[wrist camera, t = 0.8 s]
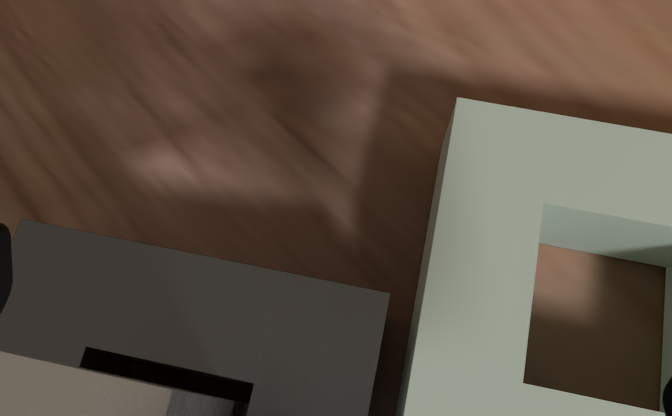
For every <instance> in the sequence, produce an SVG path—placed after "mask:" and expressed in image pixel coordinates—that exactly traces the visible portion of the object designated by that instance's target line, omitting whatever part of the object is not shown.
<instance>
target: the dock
mask: <svg viewBox="0 0 672 416" xmlns="http://www.w3.org/2000/svg"><path fill="white" fill-rule="evenodd" d="M539 243H541V244H546V245H551V246H556V247H561V248H567V249H572V250H577V251H582V252H588V253H593V254H598V255H603V256H609V257H614V258H619V259H624V260H630V261H635V262H640V263H645V264H651V265H656V266H661V267H666V279H665V301H664V323H663V344H662V366H661V387H660V409H659V412H658V411H653V410H648V409H643V408H639V407H634V406H629V405H625V404H620V403H615V402H610V401H606V400H601V399H596V398H591V397H587V396H582V395H577V394H572V393H568V392H563V391H558V390H553V389H549V388H544V387H539V386H535V385H530V384H525V383H523V378H524V370H525V361H526V352H527V343H528V334H529V325H530V316H531V308H532V299H533V290H534V281H535V272H536V263H537V254H538V246H539ZM671 376H672V134H669V133H663V132H657V131H651V130H645V129H640V128H634V127H628V126H622V125H616V124H611V123H605V122H599V121H593V120H587V119H581V118H576V117H570V116H564V115H558V114H552V113H547V112H541V111H535V110H529V109H523V108H517V107H512V106H506V105H500V104H494V103H488V102H483V101H477V100H471V99H465V98H459V97H457V99H456V103H455V106H454V109H453V112H452V115H451V118H450V121H449V125H448V128H447V131H446V134H445V137H444V140H443V143H442V147H441V152H440V158H439V164H438V170H437V176H436V181H435V187H434V193H433V199H432V205H431V211H430V216H429V222H428V228H427V234H426V240H425V245H424V251H423V257H422V263H421V269H420V274H419V280H418V286H417V292H416V298H415V303H414V309H413V315H412V321H411V327H410V333H409V338H408V344H407V350H406V356H405V362H404V367H403V373H402V379H401V385H400V391H399V396H398V402H397V408H396V414H395V416H665V412H664V408H663V403H662V396H663V391H664V388H665V386H666V384H667V382H668V381H669V379H670V378H671Z"/></svg>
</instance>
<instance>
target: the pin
mask: <svg viewBox="0 0 672 416" xmlns="http://www.w3.org/2000/svg"><path fill="white" fill-rule="evenodd" d="M248 407H249V404H248V403H243V402H239V401H234V400H230V399H225V398H221V397H216V396H212V395H207V394H203V393H198V392H194V391H189V390H185V389H181V388H176V387H172V386H167V385H163V384H158V383H154V382H149V381H145V380H140V379H135V378H130V377H125V376H120V375H115V374H111V373H106V372H101V371H96V370H91V369H86V368H81V367H76V366H71V365H66V364H61V363H56V362H52V361H47V360H42V359H37V358H32V357H27V356H22V355H17V354H12V353H7V352H2V351H0V416H246V415H247V411H248Z"/></svg>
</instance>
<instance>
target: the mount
mask: <svg viewBox="0 0 672 416" xmlns="http://www.w3.org/2000/svg"><path fill="white" fill-rule="evenodd" d="M11 249H12V267H13V284H12V289H11V293H10V296H9V298H8V300H7V302H6V304H5V306H4V308H3V310H2V313H1V315H0V351H2V352H7V353H12V354H17V355H22V356H27V357H32V358H37V359H42V360H47V361H52V362H56V363H61V364H66V365H71V366H76V367H81V368H86V369H91V370H96V371H101V372H106V373H111V374H115V375H120V376H126V373H127V369H128V366H129V363H130V359H131V360H136V361H141V362H145V363H150V364H154V365H159V366H163V367H168V368H172V369H177V370H181V371H186V372H191V373H195V374H200V375H204V376H209V377H213V378H218V379H222V380H227V381H231V382H236V383H241V384H245V385H250V386H253V391H252V395H251V399H250V403H249V407H248V411H247V415H246V416H368V412H369V406H370V401H371V395H372V390H373V385H374V379H375V374H376V368H377V363H378V358H379V352H380V347H381V341H382V336H383V331H384V325H385V320H386V314H387V309H388V304H389V298H390V293H386V292H381V291H376V290H371V289H366V288H361V287H356V286H352V285H347V284H342V283H337V282H332V281H327V280H322V279H317V278H312V277H307V276H302V275H297V274H292V273H287V272H282V271H277V270H272V269H267V268H263V267H258V266H253V265H248V264H243V263H238V262H233V261H228V260H223V259H218V258H213V257H208V256H203V255H198V254H193V253H188V252H183V251H178V250H173V249H169V248H164V247H159V246H154V245H149V244H144V243H139V242H134V241H129V240H124V239H119V238H114V237H109V236H104V235H99V234H94V233H89V232H84V231H80V230H75V229H70V228H65V227H60V226H55V225H50V224H45V223H40V222H35V221H30V220H25V219H20V222H19V224H18V227H17V230H16V232H15V235H14V237H13V240H12V243H11Z"/></svg>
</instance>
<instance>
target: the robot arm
mask: <svg viewBox="0 0 672 416" xmlns="http://www.w3.org/2000/svg"><path fill="white" fill-rule="evenodd" d="M12 284H13V267H12V249H11V235H10V231H9V229H8V227H7V226H6V225H4V224H2V223H0V315H1V313H2V310H3V308H4V306H5V304H6V302H7V300H8V298H9V296H10V293H11V289H12ZM662 403H663V408H664V412H665V416H672V376H671V378H670V379H669V381H668V382H667V384H666V386H665V388H664V391H663V396H662Z"/></svg>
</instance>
